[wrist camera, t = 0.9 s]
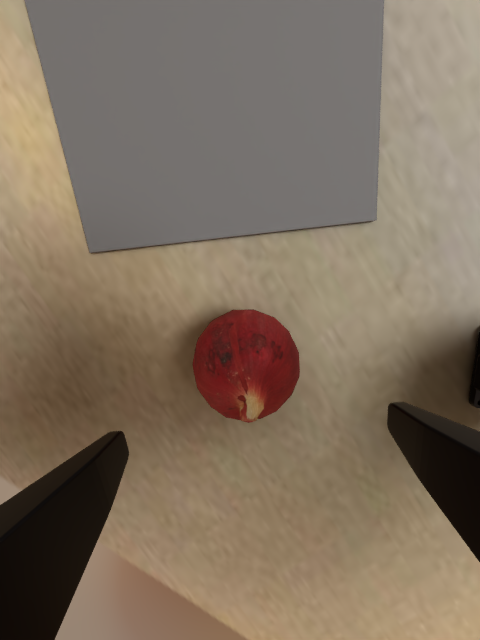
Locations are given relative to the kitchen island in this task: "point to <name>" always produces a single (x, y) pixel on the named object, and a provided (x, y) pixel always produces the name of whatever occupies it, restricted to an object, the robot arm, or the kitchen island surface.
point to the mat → (214, 114)
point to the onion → (246, 365)
